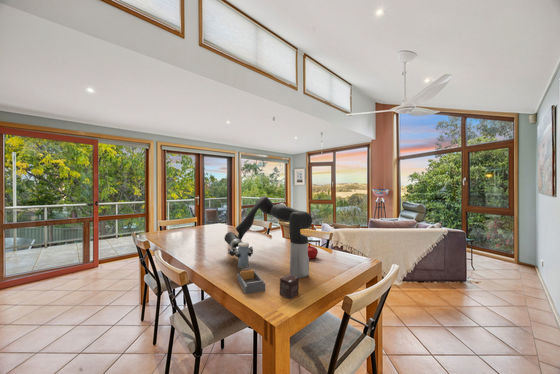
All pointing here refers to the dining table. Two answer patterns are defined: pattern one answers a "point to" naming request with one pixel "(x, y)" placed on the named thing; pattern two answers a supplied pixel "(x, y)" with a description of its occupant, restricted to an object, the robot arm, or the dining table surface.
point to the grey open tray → (252, 284)
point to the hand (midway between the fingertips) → (244, 255)
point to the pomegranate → (312, 252)
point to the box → (289, 286)
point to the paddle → (247, 274)
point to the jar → (243, 254)
